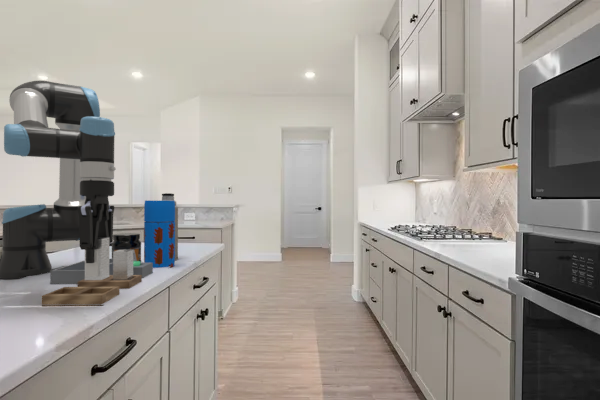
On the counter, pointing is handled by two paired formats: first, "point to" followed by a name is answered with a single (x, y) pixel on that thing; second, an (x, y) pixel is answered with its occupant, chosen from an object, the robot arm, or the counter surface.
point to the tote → (72, 273)
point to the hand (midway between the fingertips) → (97, 274)
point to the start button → (136, 263)
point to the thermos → (159, 233)
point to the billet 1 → (101, 259)
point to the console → (143, 269)
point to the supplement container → (128, 244)
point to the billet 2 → (123, 264)
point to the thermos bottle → (171, 198)
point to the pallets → (89, 292)
